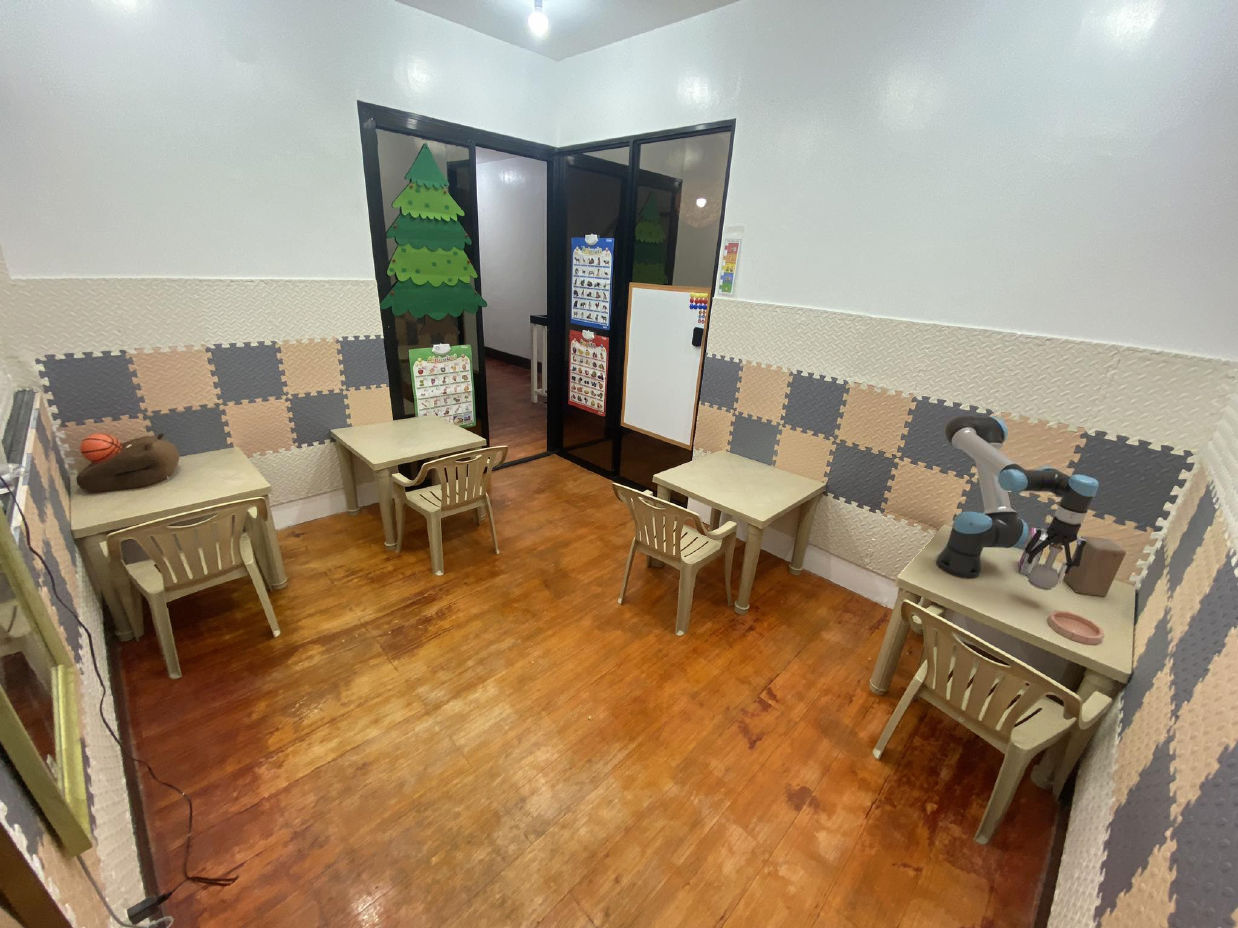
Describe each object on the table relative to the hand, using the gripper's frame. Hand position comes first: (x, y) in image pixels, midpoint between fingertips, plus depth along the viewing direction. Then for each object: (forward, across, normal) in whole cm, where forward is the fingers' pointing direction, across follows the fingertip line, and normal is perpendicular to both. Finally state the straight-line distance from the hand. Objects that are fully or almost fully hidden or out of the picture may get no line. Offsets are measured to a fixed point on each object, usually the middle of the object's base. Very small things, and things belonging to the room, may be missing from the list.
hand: (1043, 575), depth 186 cm
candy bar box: (+12, 0, +26) cm, 29 cm away
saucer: (+11, +10, -12) cm, 19 cm away
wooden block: (+12, +18, +23) cm, 32 cm away
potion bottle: (+4, 0, 0) cm, 4 cm away
